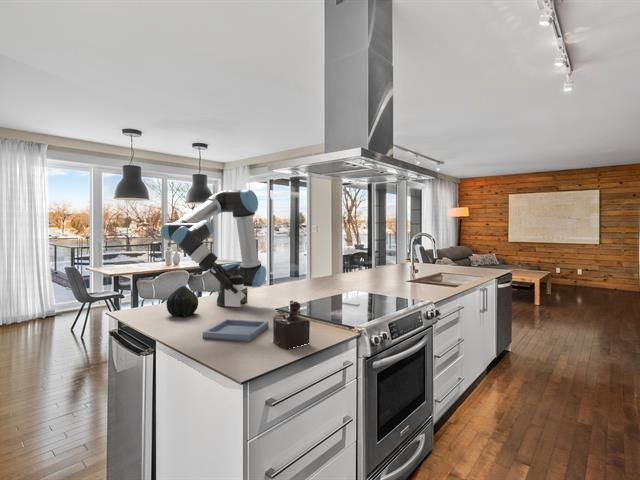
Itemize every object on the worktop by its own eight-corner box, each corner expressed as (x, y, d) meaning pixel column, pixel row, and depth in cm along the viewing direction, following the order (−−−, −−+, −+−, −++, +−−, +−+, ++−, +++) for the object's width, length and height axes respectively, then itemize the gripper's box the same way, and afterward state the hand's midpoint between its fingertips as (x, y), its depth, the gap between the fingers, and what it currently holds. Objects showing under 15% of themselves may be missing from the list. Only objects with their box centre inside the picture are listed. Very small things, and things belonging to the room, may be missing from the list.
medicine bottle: (240, 307, 148) (240, 277, 147) (224, 306, 149) (224, 277, 149) (247, 303, 155) (247, 275, 154) (232, 302, 156) (231, 274, 156)
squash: (176, 309, 170) (192, 283, 179) (155, 307, 178) (171, 281, 186) (194, 324, 180) (209, 298, 188) (174, 321, 187) (189, 296, 195)
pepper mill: (270, 343, 139) (270, 296, 139) (295, 337, 146) (294, 293, 145) (293, 354, 127) (293, 303, 126) (318, 348, 134) (318, 299, 133)
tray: (226, 324, 164) (226, 319, 164) (268, 327, 160) (268, 321, 160) (202, 338, 145) (202, 332, 145) (249, 342, 141) (249, 335, 140)
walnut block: (275, 324, 165) (275, 313, 165) (288, 325, 165) (288, 313, 165) (273, 328, 159) (273, 317, 159) (287, 328, 159) (287, 317, 159)
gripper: (203, 261, 160) (240, 297, 163) (191, 267, 139) (234, 307, 141) (215, 249, 160) (252, 285, 163) (205, 253, 139) (248, 294, 141)
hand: (244, 295), depth 152 cm, fingers closed on medicine bottle, 9 cm apart
